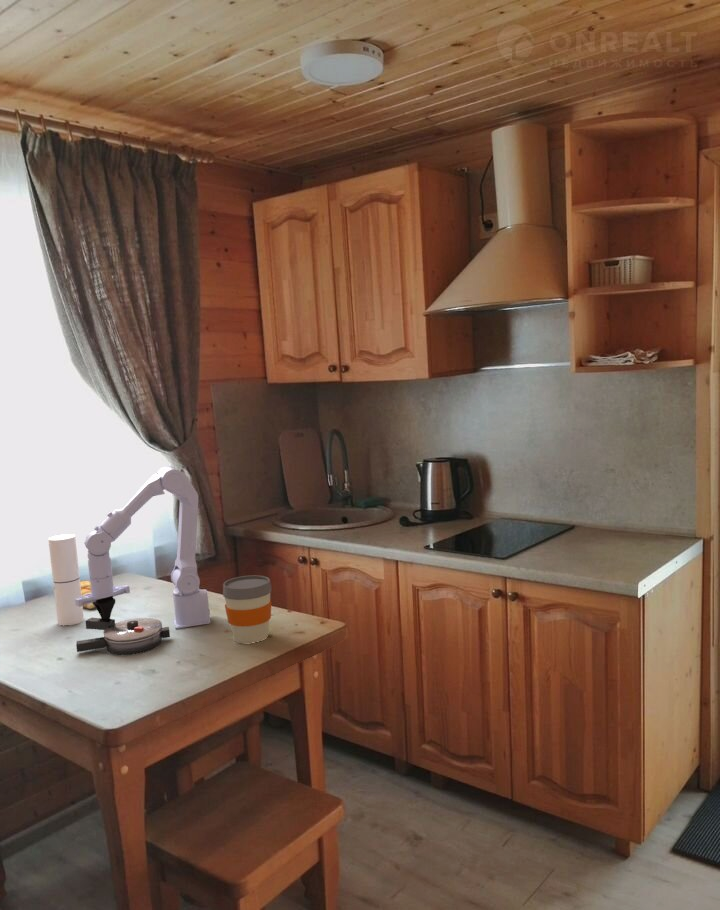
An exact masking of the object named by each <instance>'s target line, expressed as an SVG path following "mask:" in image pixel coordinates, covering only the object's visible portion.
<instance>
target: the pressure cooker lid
mask: <svg viewBox="0 0 720 910" xmlns="http://www.w3.org/2000/svg"><path fill="white" fill-rule="evenodd" d="M162 628H163V624H162V621H161V620H160V619H156V618H153V617H139V618H131V619H126V620H122V621H118V622H116V619H115V618H114V619H113V618H110V619H103V618H101V617H90V618H88V619H86V620H85V629H87V630H99V631H103V637H104V638H105V639H107V640H110V641H116V642H125V641H134V640H139V639H143V638H147V637H150V636H152V635H155V634H156V633H158V632H159V631H161V629H162Z"/></svg>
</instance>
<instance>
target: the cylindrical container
mask: <svg viewBox="0 0 720 910" xmlns="http://www.w3.org/2000/svg"><path fill="white" fill-rule="evenodd" d="M48 547H49V548H48V549H49V556H50V557H49V558H50V564H51V565H50V566H51V576H52V584H53V593H54V601H55V602H54V603H55V610H56V611H55V612H56V619H57V620H56V621H57V625H58V624H59V625H58V626H61V625H63V626H64V625H69V626H74V625H77V624H80V623H82V622H84V620H85V617H84V608H83V606H81V607H78V606H76V604H75V599H76V598H79V597H82V596H81V587H80V582H81V579H80V569H79V562H78V561H79V559H78V551H77V543H76V535H75V534H70V533H67V534H60V535H59V534H58V535H54V536H51V537H48ZM63 626H62V627H63ZM64 627H65V626H64Z"/></svg>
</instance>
